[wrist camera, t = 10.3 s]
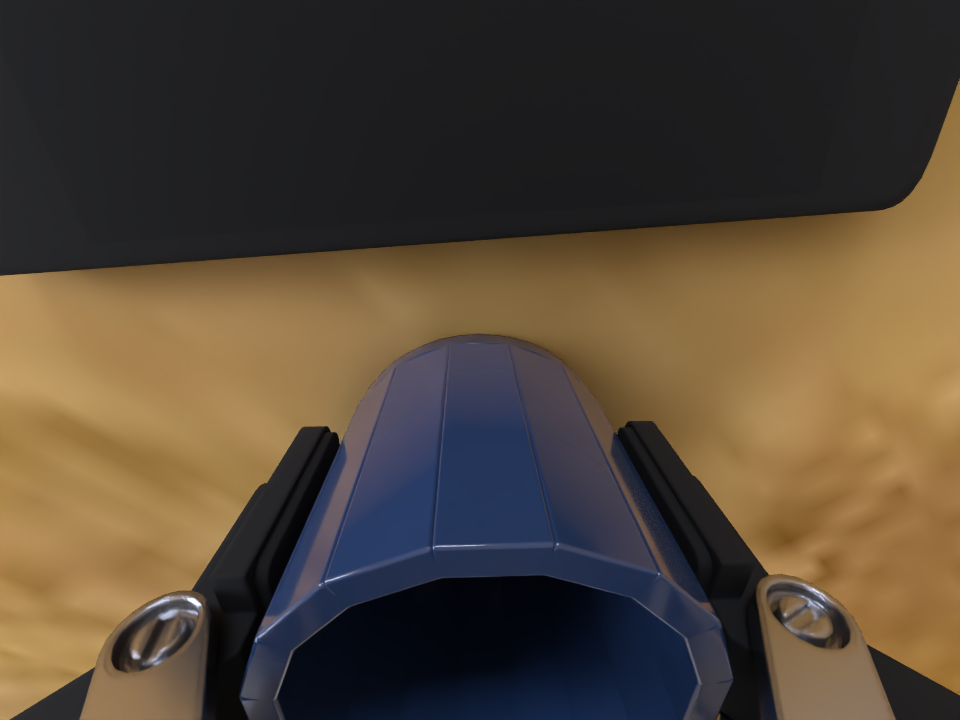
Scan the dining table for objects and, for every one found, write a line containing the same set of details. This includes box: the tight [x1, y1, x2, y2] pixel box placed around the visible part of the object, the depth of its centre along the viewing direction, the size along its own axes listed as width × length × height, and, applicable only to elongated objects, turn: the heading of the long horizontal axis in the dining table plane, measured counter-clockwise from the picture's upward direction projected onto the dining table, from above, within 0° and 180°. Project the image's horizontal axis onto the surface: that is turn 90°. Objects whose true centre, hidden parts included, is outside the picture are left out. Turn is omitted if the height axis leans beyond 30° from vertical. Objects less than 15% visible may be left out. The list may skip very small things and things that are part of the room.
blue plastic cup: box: [239, 334, 734, 720], centre depth 8 cm, size 7×7×6 cm
